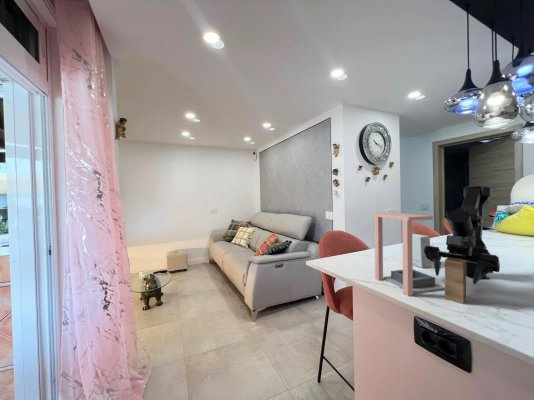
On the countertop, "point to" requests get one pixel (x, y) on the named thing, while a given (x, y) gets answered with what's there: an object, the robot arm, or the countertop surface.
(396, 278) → the socket
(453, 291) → the walnut peg
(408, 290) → the pink arch frame
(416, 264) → the skincare box
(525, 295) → the countertop surface
